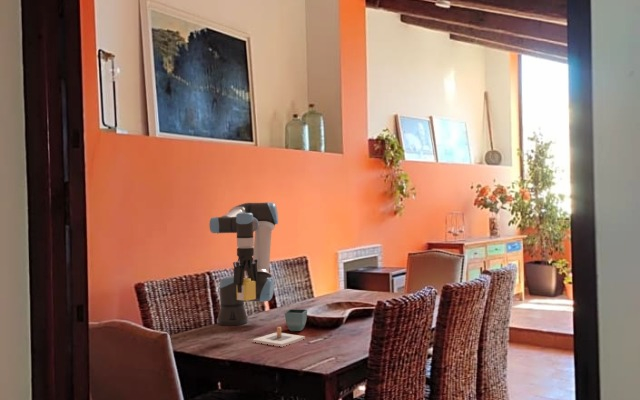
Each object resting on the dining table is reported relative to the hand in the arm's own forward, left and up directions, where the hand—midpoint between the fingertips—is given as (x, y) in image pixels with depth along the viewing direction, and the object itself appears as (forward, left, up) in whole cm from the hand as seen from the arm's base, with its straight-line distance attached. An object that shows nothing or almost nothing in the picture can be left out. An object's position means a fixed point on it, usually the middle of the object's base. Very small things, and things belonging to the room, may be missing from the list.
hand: (246, 298), depth 263 cm
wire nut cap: (0, 0, 0) cm, 0 cm away
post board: (-1, +18, -17) cm, 25 cm away
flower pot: (-21, +12, -17) cm, 30 cm away
